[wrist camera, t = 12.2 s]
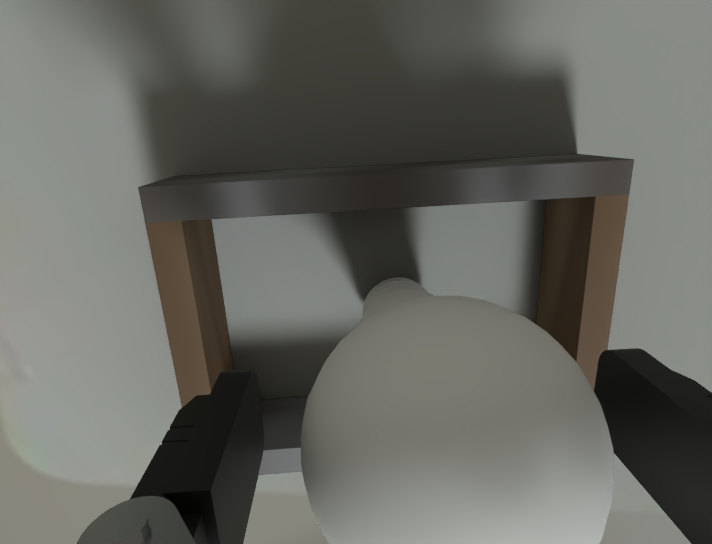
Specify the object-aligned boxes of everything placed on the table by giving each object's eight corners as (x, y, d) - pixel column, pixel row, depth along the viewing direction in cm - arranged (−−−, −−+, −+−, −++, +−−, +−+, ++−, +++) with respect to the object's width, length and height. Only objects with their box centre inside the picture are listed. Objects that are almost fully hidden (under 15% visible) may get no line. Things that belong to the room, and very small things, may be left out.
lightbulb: (292, 249, 16) (223, 473, 6) (455, 202, 16) (701, 342, 5) (339, 389, 18) (354, 753, 7) (485, 348, 18) (712, 663, 7)
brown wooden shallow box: (578, 153, 16) (633, 159, 13) (553, 399, 19) (593, 447, 16) (174, 176, 15) (138, 187, 12) (217, 424, 18) (196, 480, 15)
